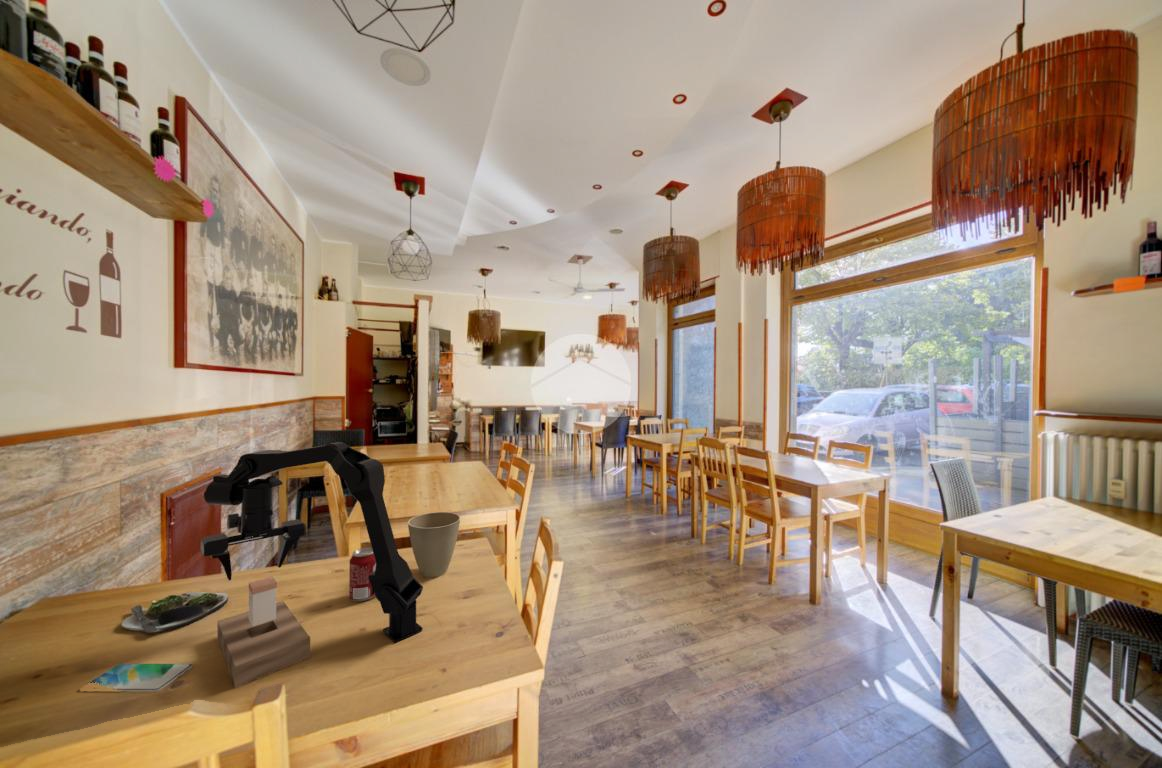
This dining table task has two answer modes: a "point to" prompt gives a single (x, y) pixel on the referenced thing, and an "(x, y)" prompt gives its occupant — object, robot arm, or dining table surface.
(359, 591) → the soda can
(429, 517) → the plant pot
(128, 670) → the smartphone
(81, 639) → the dining table surface
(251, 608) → the plug
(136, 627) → the salad plate
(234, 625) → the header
